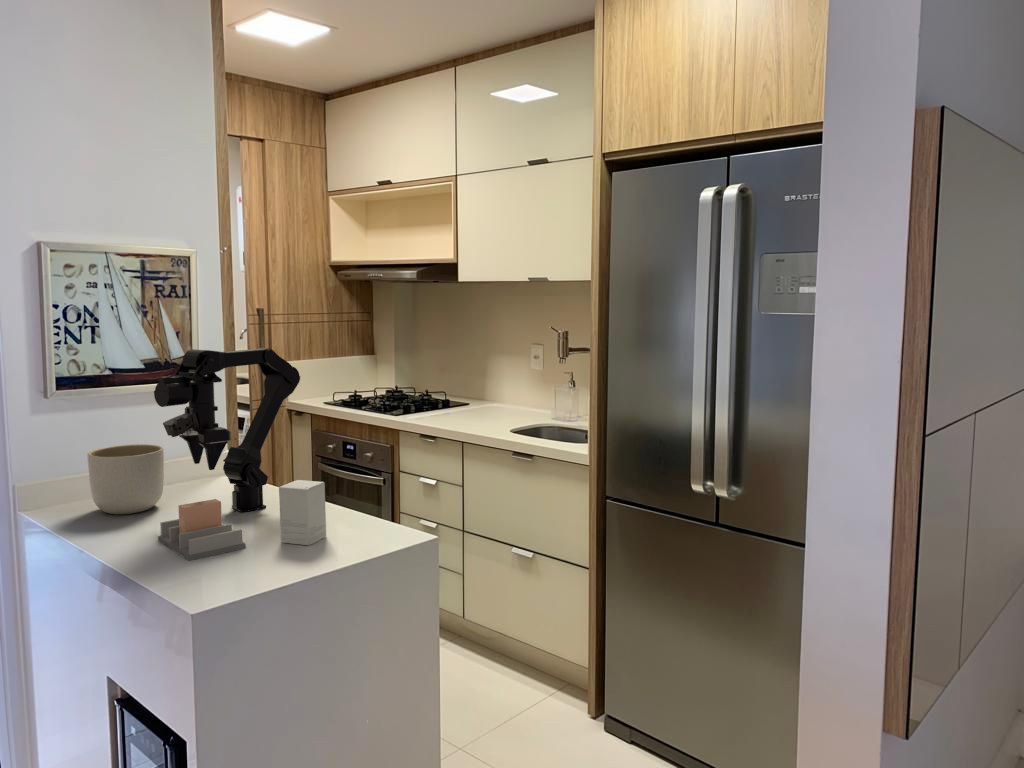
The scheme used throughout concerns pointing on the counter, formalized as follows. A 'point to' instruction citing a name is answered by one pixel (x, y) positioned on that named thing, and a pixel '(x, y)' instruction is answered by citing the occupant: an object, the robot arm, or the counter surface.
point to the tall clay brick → (200, 515)
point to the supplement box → (302, 512)
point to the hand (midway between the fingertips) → (204, 466)
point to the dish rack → (200, 540)
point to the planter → (126, 477)
